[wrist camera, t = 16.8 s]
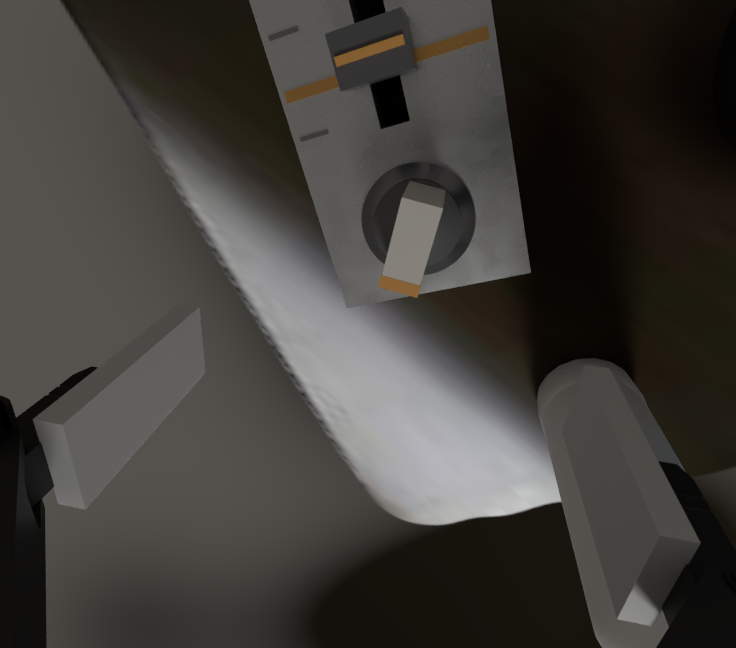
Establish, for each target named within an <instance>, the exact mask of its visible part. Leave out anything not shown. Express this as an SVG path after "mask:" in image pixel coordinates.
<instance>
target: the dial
mask: <svg viewBox="0 0 736 648" xmlns="http://www.w3.org/2000/svg"><path fill="white" fill-rule="evenodd" d="M460 231H461V215H460V210H459V206H458V204H457V202H456V200H455V198H454V197H453V195H452V194H451V193H450V192H449V191H448V190H447V189H446V188H445V187H444V186H442V185H441V184H439V183H437V182H435V181H432V180H429V179H423V178H414V179H408V180H404V181H402V182H399V183H398V184H396V185H394V186H393V187H391V188H390V189H389V190H388V191H387V192H386V193H385V194H384V196H383V197H382V198H381V200H380V202H379V203H378V205H377V207H376V210H375V213H374V218H373V232H374V236H375V239H376V242H377V244H378V245H379V247H380V249H381V250H382V251H383V252H384V254H385V255H386V256H387V257H386V261H385V265H384V269H383V272H382V274H381V277H380V281H379V285H378V287H380V288H383V289H387V290H391V291H394V292H398V293H402V294H405V295H409V296H412V297H416V298H417V297H418V294H419V290H420V287H421V282H422V278H423V274H424V271H425V268H426V267H427V266H430V265H433V264H436V263H438V262H439V261H441V260H443V259H444V258H445V257H446V256H447V255H448V254H449V253H450V252H451V251H452V250H453V248H454V247H455V245H456V243H457V241H458V239H459V235H460Z"/></svg>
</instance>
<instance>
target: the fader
mask: <svg viewBox="0 0 736 648" xmlns="http://www.w3.org/2000/svg"><path fill="white" fill-rule="evenodd" d="M325 37H326V40H327V44H328V48H329V51H330V55H331V59H332V63H333V66H334V70H335V74H336V77H337V81H338V85H339V88H340V92H341V91H352V90H355V89H358V88H361V87H364V86H367V85H371V84H374V83H377V82H380V81H383V80H386V79H389V78H393V77H396V76H399V75H402V74H405V73H408V72H411V71H415V70H418V66H417V61H416V56H415V51H414V46H413V42H412V37H411V32H410V27H409V23H408V18H407V14H406V13H405V11H404V10H403V9H402V7H399V8H396V9H394V10H391V11H388V12H385V13H382V14H379V15H377V16H374V17H371V18H368V19H365V20H363V21H360V22H357V23H354V24H351V25H349V26H346V27H343V28H340V29H337V30H334V31H332V32H329V33H326V34H325Z"/></svg>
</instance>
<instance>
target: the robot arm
mask: <svg viewBox="0 0 736 648" xmlns="http://www.w3.org/2000/svg"><path fill="white" fill-rule="evenodd" d="M716 97H717V105H718V110H719V114H720V118H721V121H722V123H723V126H724V128H725V130H726V132H727V134H728V136H729V138H730V139H731V141H732V142H733V144H734V145H735V146H736V12H735V14H734V16H733V18H732V20H731V23H730V25H729V27H728V30H727V32H726V35H725V38H724V41H723V44H722V48H721V52H720V56H719V61H718V67H717V74H716ZM204 374H205V364H204V354H203V344H202V333H201V320H200V310H199V307H196V306H189V305H182V304H178V305H177V306H176V307H174V308H173V309H172V310H171V311H169V312H168V313H167V314H166V315H164V316H163V317H162V318H160V319H159V320H158V321H157V322H155V323H154V324H153V325H152V326H150V327H149V328H148V329H147V330H145V331H144V332H143V333H142V334H140V335H139V336H138V337H136V338H135V339H134V340H133V341H131V342H130V343H129V344H128V345H126V346H125V347H124V348H123V349H121V350H120V351H119V352H117V353H116V354H115V355H114V356H112V357H111V358H110V359H108V360H107V361H106V362H105V363H104V364H102V365H101V366H100V367H98V368H97V367H89V368H87V369H85V370H83V371H80V372H78V373H76V374H74V375H72V376H71V377H70V378H68V379H67V380H66V381H64V382H63V383H62V384H60V387H57V388H55V389H54V390H52V391H51V392H50V393H49V395H48V396H47V395H46V396H44V397H43V398H42V399H40V400H39V401H38V402H37V403H35V404H34V405H33V406H31V407H30V408H29V409H27V410H26V411H25V412H23V413H22V414H21V415H19V416H18V417H17V418H16V417H15V413H14V411H13V407H12V404H11V402H10V400H9V399H7V398H5V397H3V396H0V648H46V569H45V568H46V562H45V507H44V503H43V501H42V498H43V497H44V496H45V495H46V494H47V493H48V492H49V491H50V490H51V489H52V488H54V491H55V495H56V498H57V501H58V504H61V505H66V506H71V507H76V508H80V509H86V508H87V507H88V506H89V505H90V504H91V502H92V501H93V500H94V499H95V498H96V497H97V496H98V494H99V493H100V492H101V491H102V490H103V489H104V488H105V486H106V485H107V484H108V483H109V482H110V481H111V480H112V479H113V477H114V476H115V475H116V474H117V473H118V472H119V471H120V469H121V468H122V467H123V466H124V465H125V464H126V463H127V461H128V460H129V459H130V458H131V457H132V456H133V455H134V453H135V452H136V451H137V450H138V449H139V448H140V447H141V445H142V444H143V443H144V442H145V441H146V440H147V439H148V437H149V436H150V435H151V434H152V433H153V432H154V431H155V430H156V428H157V427H158V426H159V425H160V424H161V423H162V422H163V420H164V419H165V418H166V417H167V416H168V415H169V413H170V412H171V411H172V410H173V409H174V408H175V407H176V406H177V404H178V403H179V402H180V401H181V400H182V399H183V397H184V396H185V395H186V394H187V393H188V392H189V391H190V390H191V388H192V387H193V386H194V385H195V384H196V383H197V382H198V380H199V379H200V378H201V377H202V376H203V375H204ZM562 433H563V437H564V440H565V444H566V447H567V450H568V454H569V457H570V461H571V464H572V467H573V471H574V474H575V478H576V481H577V485H578V488H579V491H580V495H581V498H582V502H583V505H584V508H585V512H586V515H587V519H588V522H589V526H590V529H591V532H592V536H593V539H594V543H595V546H596V549H597V553H598V556H599V560H600V563H601V566H602V570H603V573H604V577H605V580H606V584H607V587H608V590H609V594H610V597H611V601H612V604H613V607H614V611H615V614H616V618H617V619H619V620H624V621H629V622H633V623H638V624H643V625H648V626H653V625H654V623H655V621H656V619H657V618H658V616H659V614H660V613H661V611H662V610H663V613H664V616H665V618H666V621H667V624H668V626H669V628H668V629H667V631H666V633H665V634H664V636H663V637H662V639H661V641H660V642H659V644H658V645H657V647H656V648H736V551H735V549H734V548H733V546H732V544H731V543H730V541H729V539H728V537H727V536H726V534H725V533H724V531H723V529H722V527H721V526H720V524H719V522H718V520H717V519H716V517H715V515H714V514H713V513H711V509H710V507H709V505H708V503H707V502H706V500H705V499H703V495H702V493H701V491H700V490H699V488H698V486H697V485H696V483H695V481H694V480H693V479H692V478H691V477H690V476H689V475H688V474H687V473H686V472H685V471H684V470H683V469H682V468H681V467H679V466H678V465H677V464H673V463H667V462H661V461H658V460H657V459H656V457H655V455H654V453H653V451H652V449H651V447H650V445H649V443H648V441H647V439H646V438H645V436H644V434H643V432H642V430H641V428H640V426H639V424H638V422H637V420H636V418H635V416H634V415H633V413H632V411H631V409H630V407H629V405H628V403H627V401H626V399H625V397H624V395H623V394H622V392H621V390H620V388H619V386H618V384H617V382H616V380H615V378H614V376H613V374H612V373H611V371H610V369H609V368H604V367H597V366H590V365H584V368H583V371H582V374H581V377H580V380H579V383H578V386H577V389H576V392H575V395H574V398H573V401H572V404H571V407H570V410H569V413H568V416H567V419H566V422H565V425H564V428H563V431H562Z"/></svg>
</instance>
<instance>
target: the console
mask: <svg viewBox="0 0 736 648" xmlns="http://www.w3.org/2000/svg"><path fill="white" fill-rule="evenodd" d="M249 1H250V4H251V8H252V11H253V14H254V17H255V20H256V23H257V26H258V30H259V33H260V36H261V39H262V42H263V45H264V48H265V52H266V55H267V58H268V61H269V64H270V67H271V70H272V74H273V77H274V80H275V83H276V86H277V89H278V92H279V96H280V99H281V102H282V105H283V108H284V111H285V114H286V118H287V121H288V124H289V127H290V130H291V133H292V136H293V140H294V143H295V146H296V149H297V152H298V155H299V158H300V162H301V165H302V168H303V171H304V174H305V177H306V180H307V184H308V187H309V190H310V193H311V196H312V199H313V202H314V206H315V209H316V212H317V215H318V218H319V221H320V224H321V228H322V231H323V234H324V237H325V240H326V243H327V246H328V250H329V253H330V256H331V259H332V262H333V265H334V268H335V272H336V275H337V278H338V281H339V284H340V287H341V290H342V293H343V297H344V300H345V303H346V306H347V308H350V307H355V306H360V305H366V304H371V303H376V302H381V301H386V300H392V299H397V298H402V297H407V296H409V295H405V294H402V293H398V292H394V291H391V290H387V289H383V288H380V287H378V285H379V281H380V277H381V274H382V272H383V269H384V265H385V261H386V257H387V256H386V255H385V254H384V252H383V251H382V250H381V249H380V247H379V245H378V244H377V242H376V239H375V236H374V232H373V218H374V213H375V210H376V207H377V205H378V203H379V202H380V200H381V198H382V197H383V196H384V194H385V193H386V192H387V191H388V190H389V189H390V188H391V187H393V186H394V185H396V184H398V183H399V182H402V181H404V180H408V179H414V178H423V179H429V180H432V181H435V182H437V183H439V184H441V185H442V186H444V187H445V188H446V189H447V190H448V191H449V192H450V193H451V194H452V195H453V197H454V198H455V200H456V202H457V204H458V206H459V210H460V215H461V231H460V235H459V239H458V241H457V243H456V245H455V247H454V248H453V250H452V251H451V252H450V253H449V254H448V255H447V256H446V257H445V258H444V259H443V260H441V261H439V262H438V263H436V264H433V265H430V266H427V267H426V268H425V271H424V274H423V278H422V282H421V287H420V290H419V294H423V293H428V292H433V291H438V290H444V289H449V288H454V287H459V286H464V285H470V284H475V283H480V282H485V281H490V280H496V279H501V278H506V277H511V276H516V275H522V274H527V273H531V270H530V263H529V256H528V250H527V243H526V236H525V229H524V222H523V215H522V209H521V202H520V195H519V188H518V181H517V175H516V168H515V161H514V154H513V147H512V140H511V134H510V127H509V120H508V113H507V106H506V100H505V93H504V86H503V79H502V72H501V66H500V59H499V52H498V45H497V38H496V31H495V25H494V18H493V11H492V4H491V0H383V2H384V6H385V11H386V12H388V11H391V10H394V9H396V8H399V7H402V9H403V10H404V11H405V13H406V14H407V18H408V23H409V27H410V32H411V37H412V42H413V46H414V51H415V56H416V61H417V66H418V70H415V71H411V72H408V73H405V74H402V75H400V78H401V82H402V87H403V91H404V96H405V100H406V105H407V109H408V114H409V118H410V119H409V120H406V121H402V122H399V123H396V124H392V125H389V126H385V122H384V118H383V113H382V109H381V105H380V101H379V97H378V93H377V89H376V85H375V83H374V84H371V85H367V86H364V87H361V88H358V89H355V90H352V91H341V92H340V88H339V85H338V81H337V77H336V74H335V70H334V66H333V63H332V59H331V55H330V51H329V48H328V44H327V40H326V37H325V34H326V33H329V32H332V31H334V30H337V29H340V28H343V27H346V26H349V25H351V24H354V23H357V22H360V19H359V15H358V11H357V7H356V2H355V0H249Z"/></svg>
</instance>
